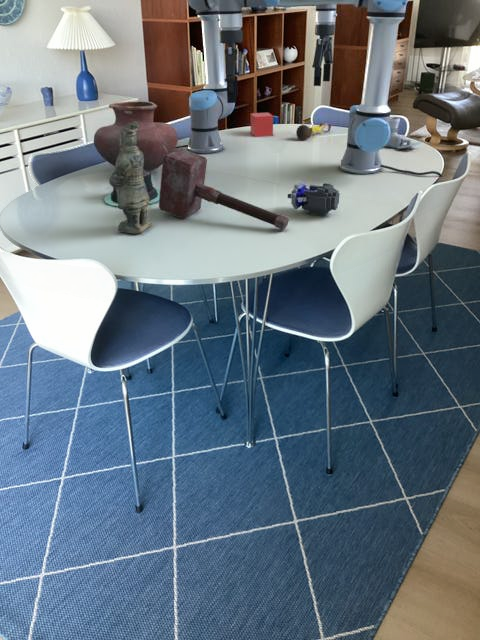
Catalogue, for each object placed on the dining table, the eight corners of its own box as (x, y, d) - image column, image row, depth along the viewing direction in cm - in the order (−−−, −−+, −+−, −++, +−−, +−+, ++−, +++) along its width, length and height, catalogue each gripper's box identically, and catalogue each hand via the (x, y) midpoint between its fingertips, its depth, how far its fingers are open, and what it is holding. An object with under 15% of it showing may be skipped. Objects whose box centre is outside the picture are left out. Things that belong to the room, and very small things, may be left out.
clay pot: (187, 162, 225) (183, 96, 212) (166, 184, 199) (159, 111, 187) (116, 160, 230) (108, 96, 217) (87, 181, 204) (75, 110, 192)
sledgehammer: (299, 190, 156) (179, 147, 167) (285, 200, 148) (161, 154, 160) (286, 244, 166) (174, 200, 177) (272, 256, 158) (156, 209, 170)
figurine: (338, 121, 266) (314, 124, 247) (336, 138, 269) (312, 141, 250) (313, 119, 272) (288, 121, 253) (312, 135, 275) (287, 138, 256)
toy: (295, 178, 172) (342, 184, 166) (295, 205, 177) (340, 211, 171) (285, 186, 166) (333, 192, 160) (284, 213, 170) (331, 220, 164)
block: (267, 131, 273) (268, 112, 268) (272, 135, 265) (273, 115, 260) (250, 132, 271) (250, 113, 266) (255, 136, 263) (255, 116, 259)
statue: (131, 220, 168) (117, 116, 152) (158, 224, 164) (147, 118, 149) (109, 233, 159) (93, 124, 144) (138, 237, 156) (124, 126, 140)
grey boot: (392, 115, 240) (425, 120, 231) (389, 143, 246) (420, 148, 237) (382, 118, 234) (415, 123, 226) (379, 146, 240) (410, 152, 232)
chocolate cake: (91, 202, 180) (113, 186, 197) (142, 231, 182) (160, 212, 199) (107, 162, 172) (129, 148, 190) (160, 192, 174) (177, 176, 192)
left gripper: (326, 25, 201) (322, 88, 212) (342, 22, 221) (338, 79, 232) (306, 25, 204) (303, 87, 214) (324, 22, 223) (321, 79, 234)
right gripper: (221, 27, 189) (224, 93, 200) (215, 31, 168) (218, 105, 178) (243, 26, 189) (245, 93, 199) (240, 31, 167) (242, 105, 178)
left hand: (321, 83), depth 223 cm, fingers open, 13 cm apart
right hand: (232, 99), depth 189 cm, fingers open, 13 cm apart
